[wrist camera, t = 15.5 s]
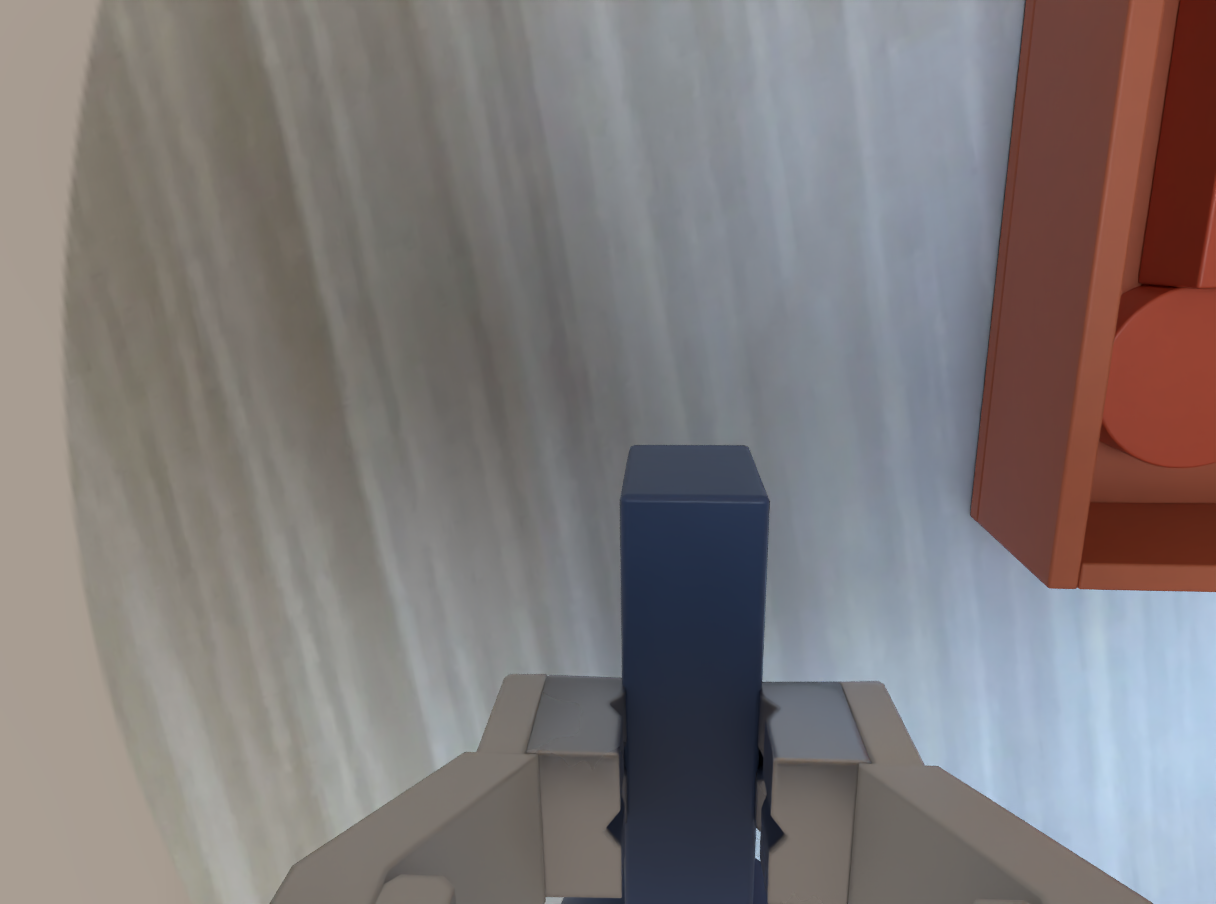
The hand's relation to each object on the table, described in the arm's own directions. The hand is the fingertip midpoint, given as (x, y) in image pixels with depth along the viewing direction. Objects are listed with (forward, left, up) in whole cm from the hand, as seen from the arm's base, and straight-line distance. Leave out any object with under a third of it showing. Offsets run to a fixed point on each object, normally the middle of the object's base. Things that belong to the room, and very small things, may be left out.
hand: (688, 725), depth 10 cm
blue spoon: (0, -2, -2) cm, 3 cm away
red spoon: (+11, +6, -11) cm, 17 cm away
